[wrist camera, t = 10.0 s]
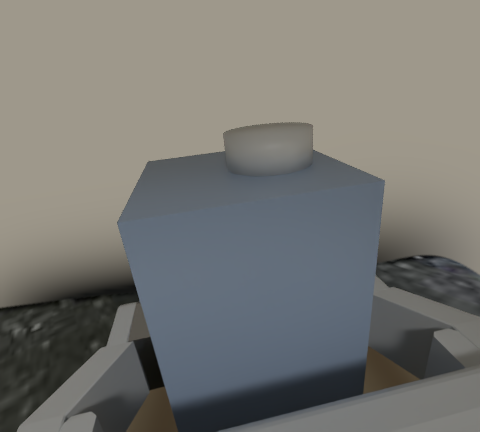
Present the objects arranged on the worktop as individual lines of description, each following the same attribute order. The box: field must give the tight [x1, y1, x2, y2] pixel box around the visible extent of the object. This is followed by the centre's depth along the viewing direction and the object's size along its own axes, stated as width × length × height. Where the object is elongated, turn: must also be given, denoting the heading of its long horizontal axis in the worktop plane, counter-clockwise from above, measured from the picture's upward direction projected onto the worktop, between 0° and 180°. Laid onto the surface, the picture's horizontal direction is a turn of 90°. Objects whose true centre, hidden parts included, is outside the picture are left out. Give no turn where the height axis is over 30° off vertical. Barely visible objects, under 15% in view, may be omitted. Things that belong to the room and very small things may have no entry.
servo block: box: [117, 123, 385, 432], centre depth 9 cm, size 4×4×11 cm
